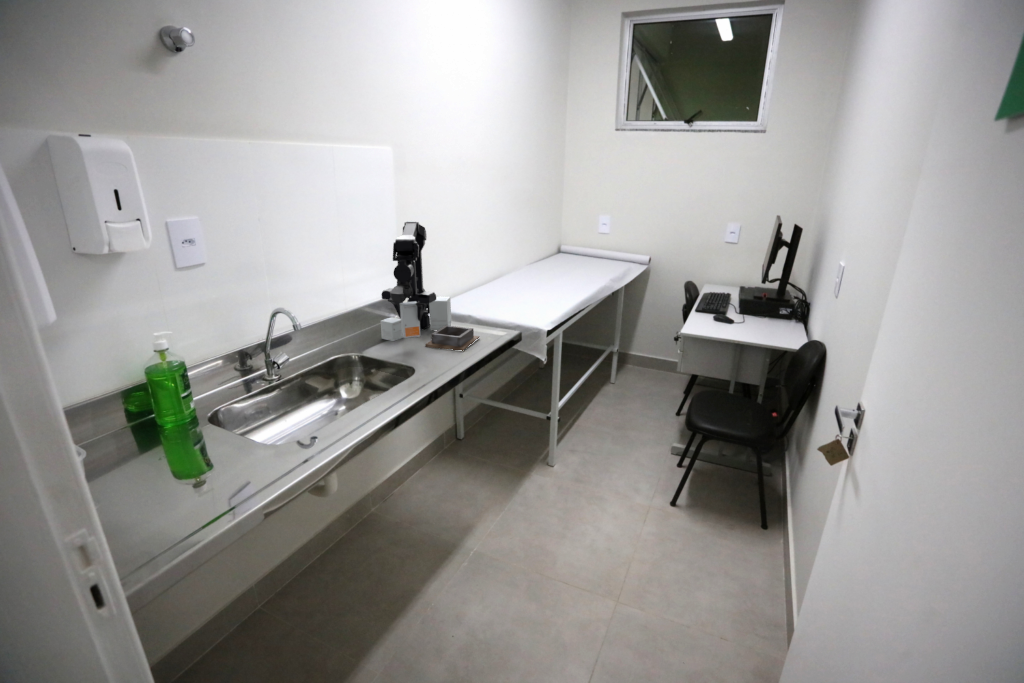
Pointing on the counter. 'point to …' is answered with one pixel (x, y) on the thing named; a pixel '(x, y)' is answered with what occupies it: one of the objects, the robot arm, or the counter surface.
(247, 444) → the counter surface
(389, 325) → the skincare box
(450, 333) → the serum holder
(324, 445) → the counter surface
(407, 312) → the skincare box
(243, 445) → the counter surface
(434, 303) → the supplement box
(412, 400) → the counter surface
